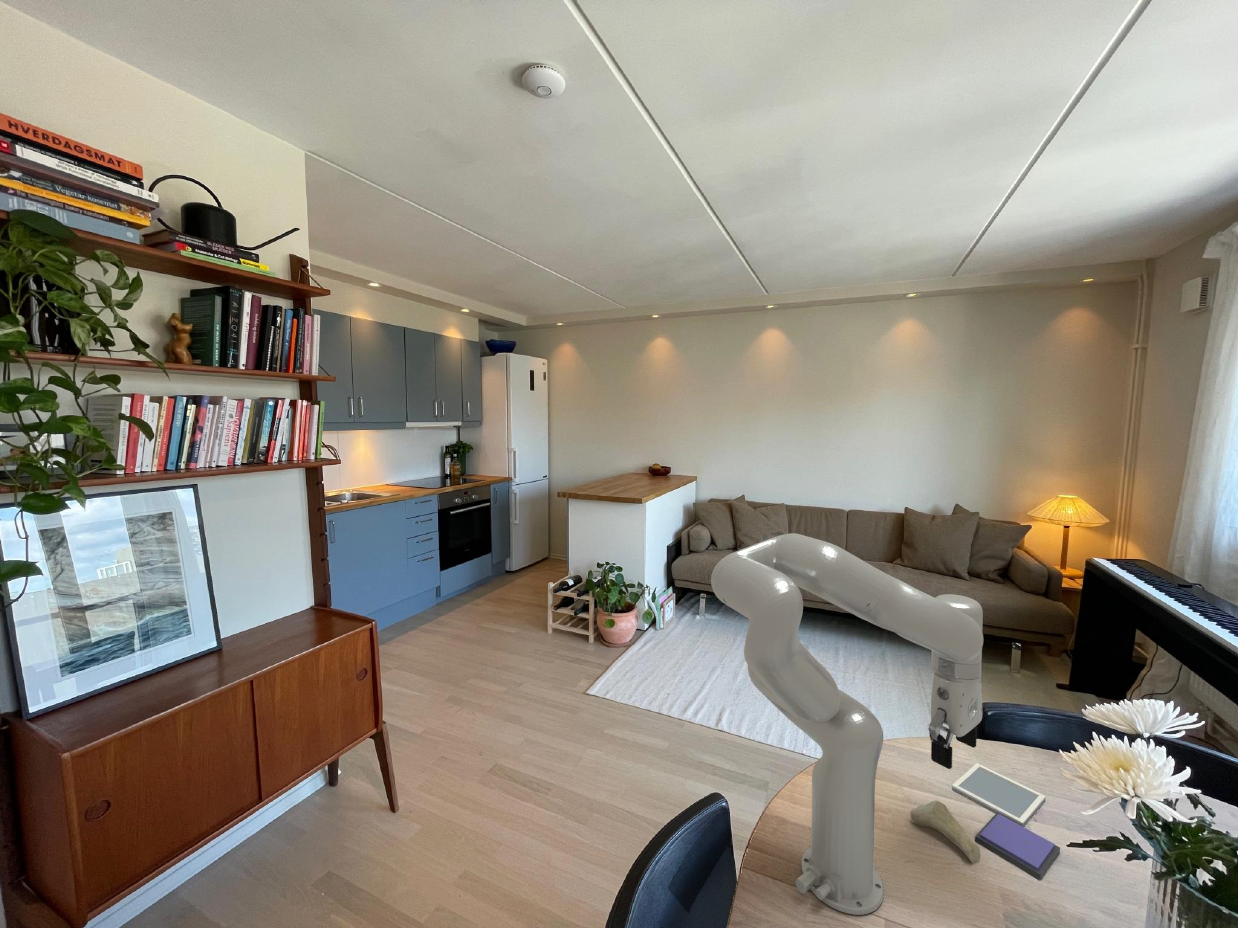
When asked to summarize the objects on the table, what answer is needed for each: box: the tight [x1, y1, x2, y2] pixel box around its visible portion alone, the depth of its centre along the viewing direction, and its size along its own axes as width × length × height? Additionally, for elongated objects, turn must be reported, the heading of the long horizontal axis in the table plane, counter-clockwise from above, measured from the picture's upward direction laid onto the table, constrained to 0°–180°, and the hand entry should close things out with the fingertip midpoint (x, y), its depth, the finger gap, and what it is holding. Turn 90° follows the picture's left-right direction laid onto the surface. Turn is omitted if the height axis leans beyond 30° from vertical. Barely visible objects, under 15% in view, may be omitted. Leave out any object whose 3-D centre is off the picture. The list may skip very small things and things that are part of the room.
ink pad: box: [974, 813, 1061, 881], centre depth 89 cm, size 10×10×2 cm
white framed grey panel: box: [951, 762, 1046, 828], centre depth 101 cm, size 12×12×1 cm
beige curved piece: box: [910, 800, 981, 864], centre depth 91 cm, size 11×6×5 cm, turn 29°
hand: (954, 753), depth 91 cm, fingers open, 9 cm apart
